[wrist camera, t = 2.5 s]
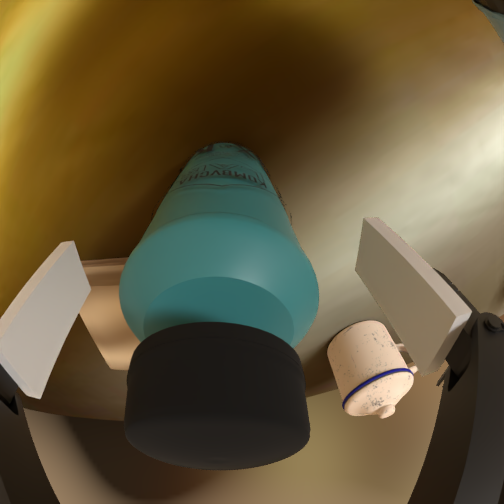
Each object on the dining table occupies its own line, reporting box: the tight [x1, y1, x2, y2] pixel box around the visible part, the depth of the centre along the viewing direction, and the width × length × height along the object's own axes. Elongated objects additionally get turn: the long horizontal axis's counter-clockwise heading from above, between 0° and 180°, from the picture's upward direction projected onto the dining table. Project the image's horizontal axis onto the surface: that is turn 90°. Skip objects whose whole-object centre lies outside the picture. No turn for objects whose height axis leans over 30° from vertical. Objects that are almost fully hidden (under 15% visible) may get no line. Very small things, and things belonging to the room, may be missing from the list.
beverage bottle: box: [119, 141, 319, 470], centre depth 13 cm, size 6×7×20 cm
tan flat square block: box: [79, 257, 141, 370], centre depth 26 cm, size 13×13×4 cm
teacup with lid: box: [327, 320, 418, 418], centre depth 29 cm, size 12×9×12 cm
